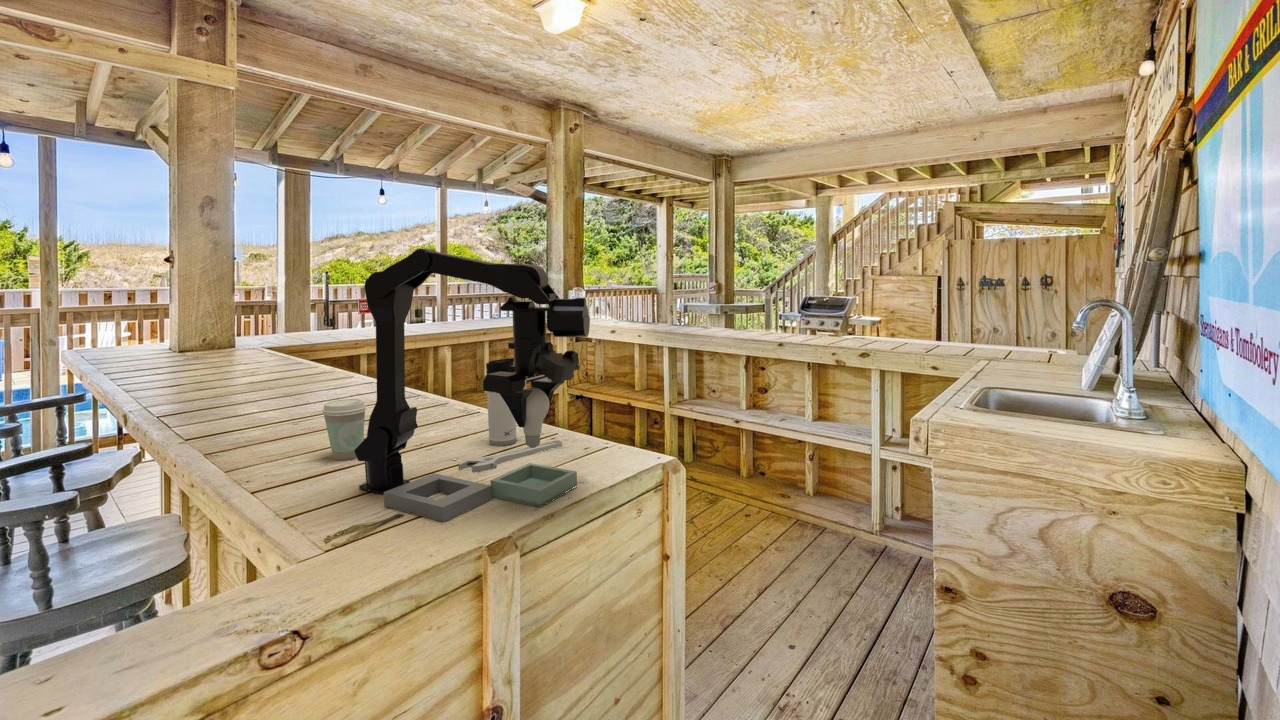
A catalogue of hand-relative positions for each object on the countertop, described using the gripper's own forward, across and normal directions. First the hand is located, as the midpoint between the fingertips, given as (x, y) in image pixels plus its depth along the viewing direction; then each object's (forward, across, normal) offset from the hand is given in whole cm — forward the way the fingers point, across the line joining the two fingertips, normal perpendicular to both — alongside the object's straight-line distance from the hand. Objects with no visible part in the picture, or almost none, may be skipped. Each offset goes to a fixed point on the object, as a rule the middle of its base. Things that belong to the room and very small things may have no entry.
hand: (532, 423), depth 106 cm
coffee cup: (+13, -2, +49) cm, 51 cm away
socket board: (+13, -12, +11) cm, 21 cm away
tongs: (+14, -25, +13) cm, 31 cm away
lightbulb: (+5, 0, 0) cm, 5 cm away
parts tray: (+13, 0, 0) cm, 13 cm away
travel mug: (+13, +22, +26) cm, 37 cm away
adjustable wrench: (+13, +14, +16) cm, 25 cm away
